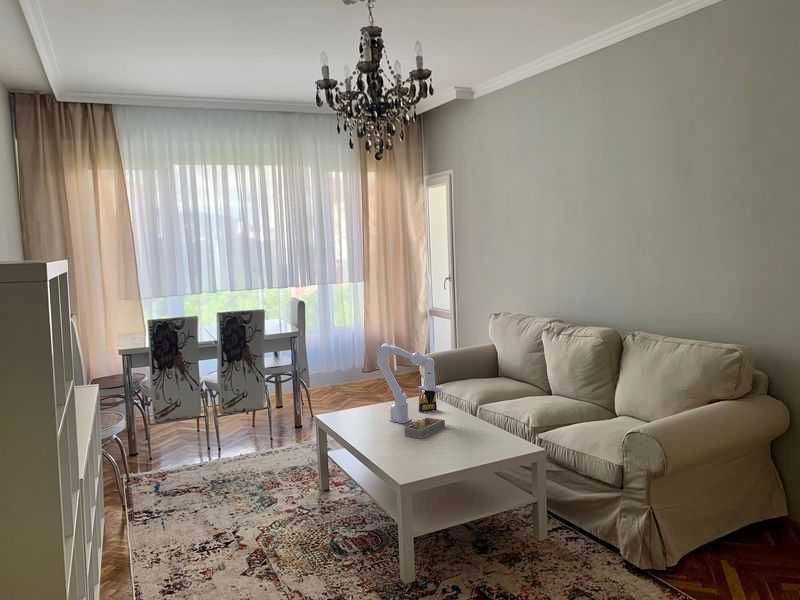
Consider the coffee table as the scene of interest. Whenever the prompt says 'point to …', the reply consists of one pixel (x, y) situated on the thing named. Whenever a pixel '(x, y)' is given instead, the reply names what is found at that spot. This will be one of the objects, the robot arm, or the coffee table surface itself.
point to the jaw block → (419, 424)
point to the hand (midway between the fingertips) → (430, 404)
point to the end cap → (434, 421)
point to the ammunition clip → (426, 403)
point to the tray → (424, 432)
